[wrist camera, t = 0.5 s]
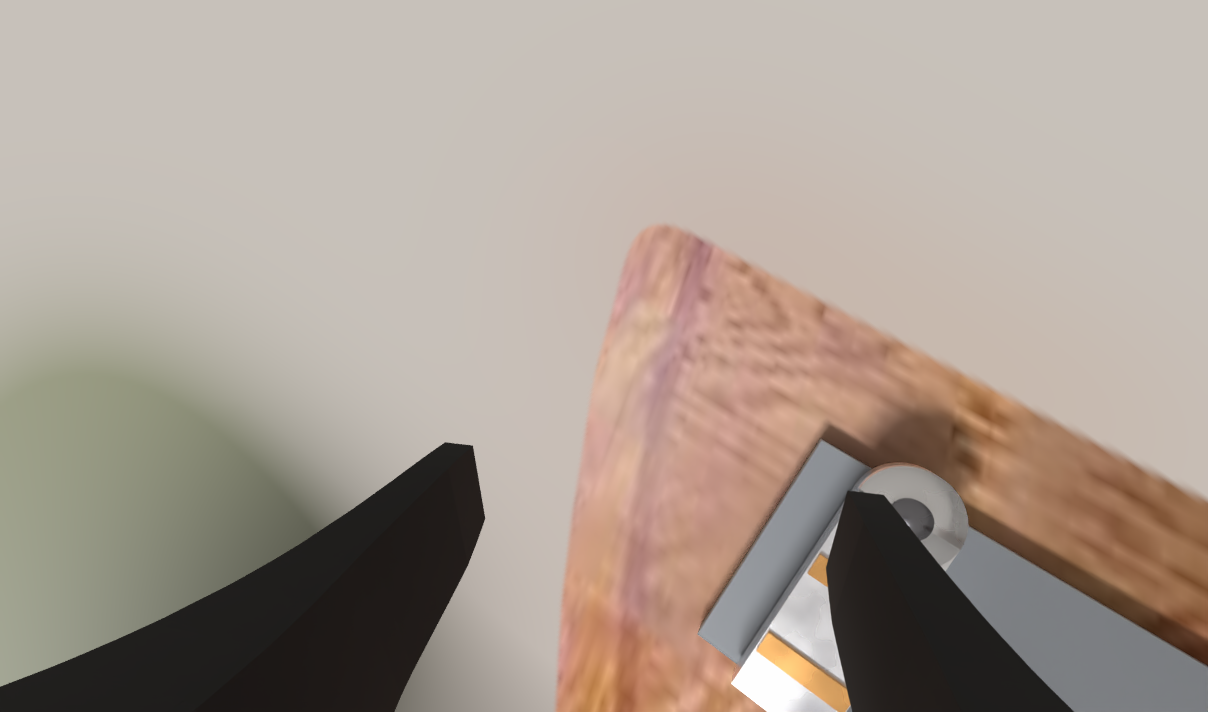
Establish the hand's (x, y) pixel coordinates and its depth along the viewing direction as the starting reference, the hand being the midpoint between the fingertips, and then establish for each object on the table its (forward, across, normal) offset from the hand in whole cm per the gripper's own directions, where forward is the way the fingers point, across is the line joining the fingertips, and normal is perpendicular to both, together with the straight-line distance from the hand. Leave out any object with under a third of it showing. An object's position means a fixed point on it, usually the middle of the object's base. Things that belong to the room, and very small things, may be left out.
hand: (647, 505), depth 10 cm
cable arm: (+13, -10, +17) cm, 24 cm away
